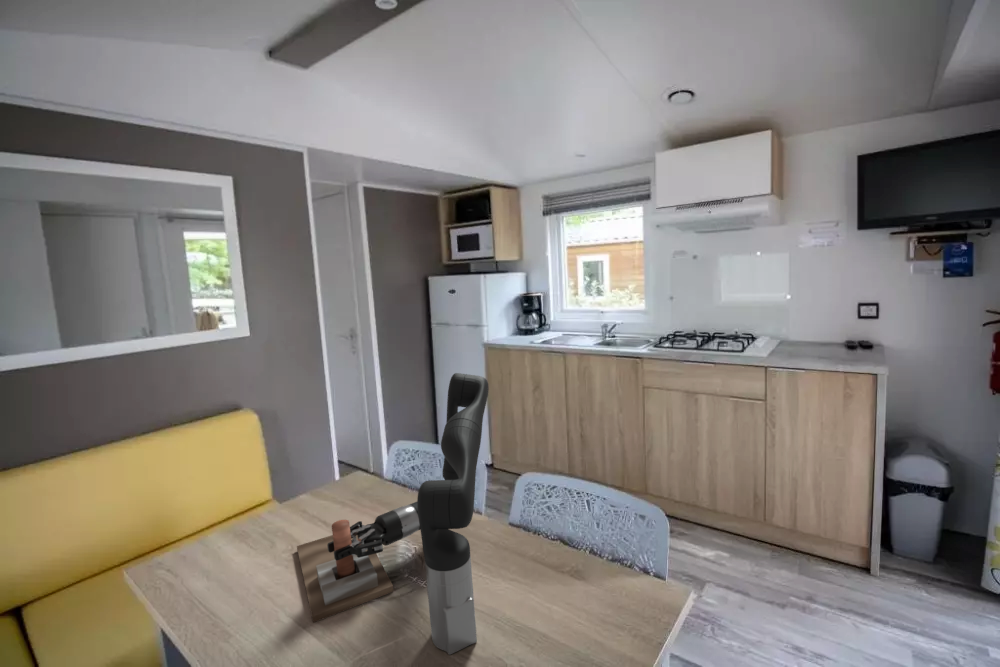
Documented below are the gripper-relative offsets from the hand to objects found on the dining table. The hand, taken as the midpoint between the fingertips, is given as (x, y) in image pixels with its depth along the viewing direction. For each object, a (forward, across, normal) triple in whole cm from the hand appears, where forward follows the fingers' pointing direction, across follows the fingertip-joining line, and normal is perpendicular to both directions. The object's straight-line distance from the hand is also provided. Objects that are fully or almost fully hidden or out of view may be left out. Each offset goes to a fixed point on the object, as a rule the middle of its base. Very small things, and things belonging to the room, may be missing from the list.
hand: (331, 552), depth 111 cm
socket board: (-4, -8, +10) cm, 14 cm away
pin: (-3, 0, +8) cm, 8 cm away
